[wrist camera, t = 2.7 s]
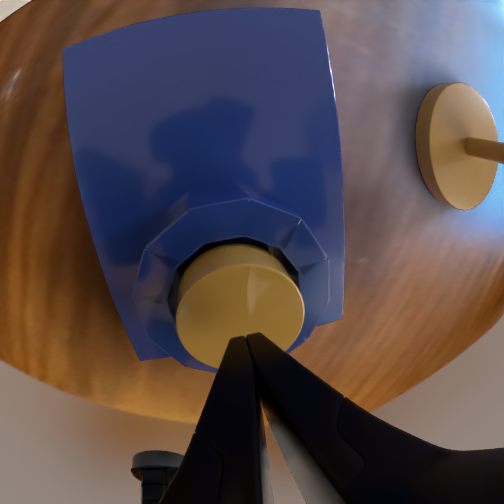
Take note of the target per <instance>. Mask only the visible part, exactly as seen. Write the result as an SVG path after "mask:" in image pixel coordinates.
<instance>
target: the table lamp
mask: <svg viewBox="0 0 504 504" xmlns="http://www.w3.org/2000/svg"><path fill="white" fill-rule="evenodd" d="M415 136H416V153H417V159H418V164H419V167H420V171H421V174H422V177H423V179H424V181H425V183H426V185H427V187H428V189H429V190H430V192H431V193H432V194H433V196H434V197H435V198H436V199H438V200H439V201H440V202H442V203H443V204H446V205H448V206H451V207H454V208H456V209H459V210H469V209H472V208H474V207H476V206H477V205H479V204H480V203H481V202H482V201H483V200H484V199H485V197H486V196H487V194H488V193H489V191H490V189H491V187H492V184H493V182H494V179H495V175H496V171H497V166H498V163H501V164H504V143H503V142H498V135H497V130H496V125H495V122H494V119H493V116H492V113H491V111H490V109H489V107H488V105H487V103H486V102H485V100H484V99H483V97H482V96H481V95H480V94H479V93H478V92H477V91H476V90H475V89H474V88H473V87H471V86H469V85H467V84H465V83H461V82H452V83H442V84H438V85H437V86H435V87H433V88H432V89H431V90H430V91H429V92H428V93H427V95H426V96H425V98H424V99H423V101H422V104H421V106H420V109H419V112H418V116H417V122H416V133H415Z"/></svg>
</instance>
